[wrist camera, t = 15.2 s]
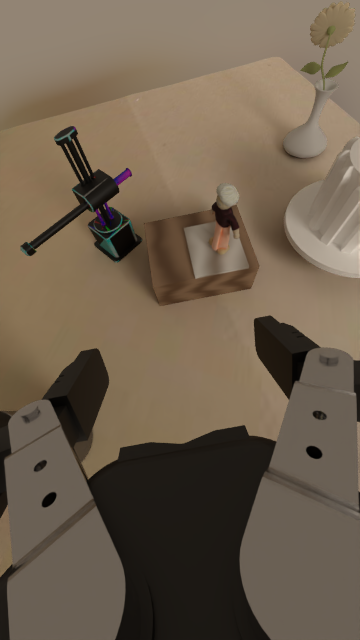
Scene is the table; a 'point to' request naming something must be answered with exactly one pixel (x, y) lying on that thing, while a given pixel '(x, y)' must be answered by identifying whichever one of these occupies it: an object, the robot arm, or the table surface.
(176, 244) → the stand
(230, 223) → the grandmother figurine
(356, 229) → the ribbed cylinder on disc
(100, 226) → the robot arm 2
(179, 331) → the table surface
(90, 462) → the table surface
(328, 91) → the flower in vase
